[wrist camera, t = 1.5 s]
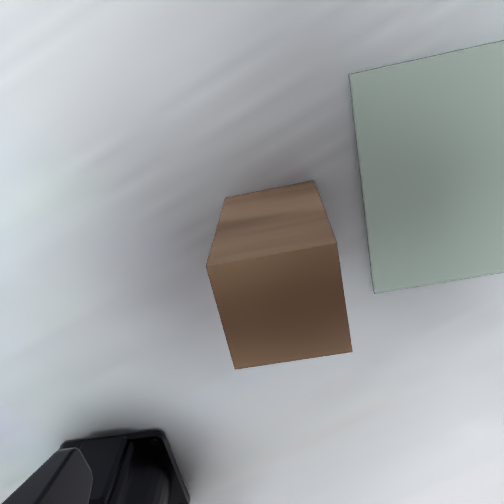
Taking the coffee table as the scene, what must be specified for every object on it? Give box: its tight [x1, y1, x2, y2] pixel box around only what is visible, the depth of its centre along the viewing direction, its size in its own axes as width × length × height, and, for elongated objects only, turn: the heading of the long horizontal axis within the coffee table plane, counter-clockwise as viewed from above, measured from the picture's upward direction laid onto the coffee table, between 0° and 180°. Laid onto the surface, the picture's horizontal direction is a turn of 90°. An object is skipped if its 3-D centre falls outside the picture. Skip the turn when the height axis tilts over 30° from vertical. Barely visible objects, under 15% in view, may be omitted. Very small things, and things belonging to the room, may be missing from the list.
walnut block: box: [206, 180, 352, 369], centre depth 17 cm, size 4×4×7 cm
